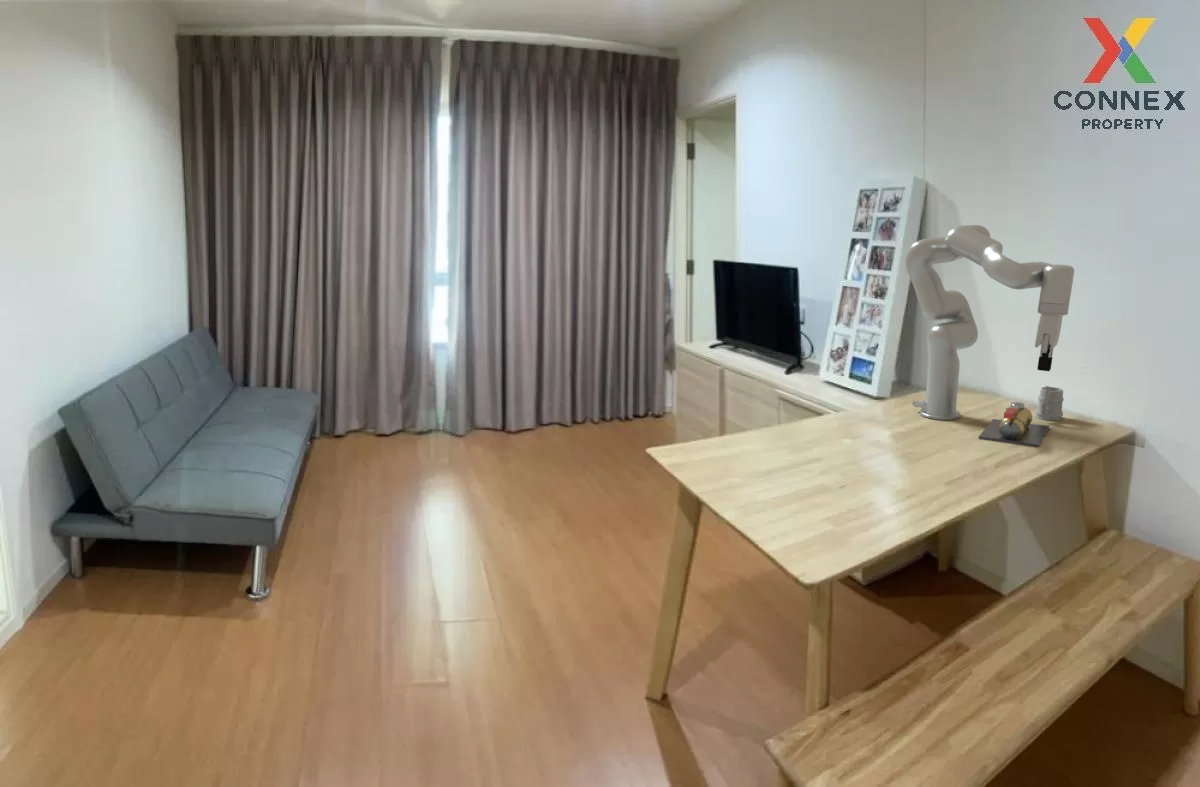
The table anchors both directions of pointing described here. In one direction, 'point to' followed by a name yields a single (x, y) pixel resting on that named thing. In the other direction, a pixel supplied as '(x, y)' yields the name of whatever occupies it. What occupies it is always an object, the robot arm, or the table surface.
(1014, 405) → the lever
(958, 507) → the table surface
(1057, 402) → the mug
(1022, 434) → the valve body
